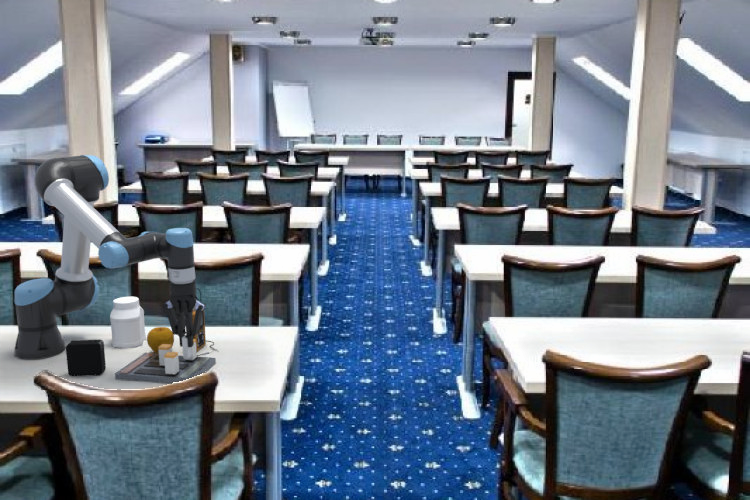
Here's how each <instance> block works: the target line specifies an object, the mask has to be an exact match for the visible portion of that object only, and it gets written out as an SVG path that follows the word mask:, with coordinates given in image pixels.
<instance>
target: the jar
mask: <svg viewBox="0 0 750 500" xmlns="http://www.w3.org/2000/svg"><path fill="white" fill-rule="evenodd" d="M112 305H113V308H112V310H111V312H110V315H109V320H110V330H111V344H112V347H114V348H118V349H130V348H131V349H132V348H136V347H139V346H142V345H143V342H144V341H145V340H147V335H146V328H145V326H146V325H145V315H144V314H145V310H144V309H143V308H142V307H141V305H140V299H139V297H137V296H121V297H118V298H115V299H113V300H112Z"/></svg>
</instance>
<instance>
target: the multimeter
mask: <svg viewBox="0 0 750 500" xmlns="http://www.w3.org/2000/svg"><path fill="white" fill-rule="evenodd" d="M196 290H198V291H199V297H200V301H199V302H200V303H202V294H201V293H202V291H201V290H200V288H197V287H196ZM195 313H196V305H195V306H194V308H193V313H192V316H193V324H194V318H195ZM205 322H206V321H205V309H204V310H203V312H202V318H201V324H200V330H199V333H198V334H196V335H195V336H193V339H196V352H199V350H201V349H202V348H203V347H205V346H206V342H210V343H212V344H210V345H209V347H210V348H211V349H212V351H206V352H203V353H200V354H197V357H201V356H206V355H207V354H210V353H213V352H214V351H216V352H218V353H219V350H218V349H217V348H215V347H212V346H214V345H215V342H214V341H212V340H211V341H209V340H206V339H207V338H206V323H205Z"/></svg>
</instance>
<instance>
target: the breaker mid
mask: <svg viewBox="0 0 750 500" xmlns="http://www.w3.org/2000/svg"><path fill="white" fill-rule="evenodd" d="M158 349H159V363H160V365H163V366H165V359H164V355H165V354H166V353H168V352H173V346H172V345H170V344H162V345H161V346H159V347H158Z"/></svg>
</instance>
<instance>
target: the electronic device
mask: <svg viewBox="0 0 750 500" xmlns="http://www.w3.org/2000/svg"><path fill="white" fill-rule="evenodd" d="M65 354H66V365H67V374H68V376H69V377H93V376H101V375H103V373H104V372H105V370H106V369H107V367H106V355H105V354H106V353H105V344H104V340H103V339H77V340H76V339H75V340H74V339H73V340H71V341H69V342H68V344H66V345H65Z"/></svg>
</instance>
